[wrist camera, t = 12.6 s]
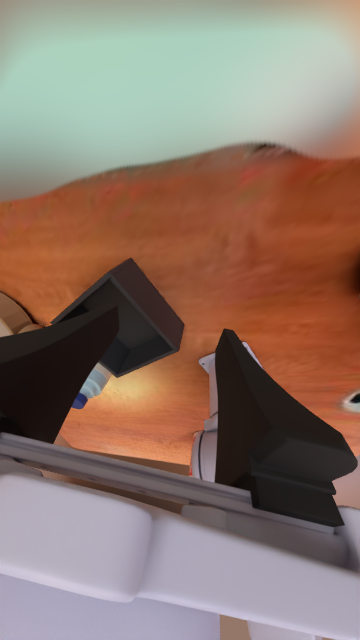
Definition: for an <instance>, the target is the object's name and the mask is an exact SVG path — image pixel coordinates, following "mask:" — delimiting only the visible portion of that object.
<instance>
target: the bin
mask: <svg viewBox="0 0 360 640" xmlns="http://www.w3.org/2000/svg"><path fill="white" fill-rule="evenodd" d="M107 304H112V305H117V306H118V313H119V332H118V334H117V335H116V337H115V339H114V341H113V342H112V344H111V345H110V347H109V348H108V349H107V351H106V352H105V354H104V355H103V356H102V358H101V359H100V360H99V362H98V363H100V364H101V365H102V366H103V367H104V368H106V369H107V370H108V371H109V372H110V373H112V374H113V375H114V376H115V377H117V378H118V377H121V376H123V375H125V374H127V373H130V372H132V371H134V370H137V369H139V368H141V367H143V366H146V365H148V364H150V363H153V362H155V361H157V360H159V359H162V358H164V357H166V356H169V355H171V354H173V353H175V352H178V351H179V348H180V343H181V339H182V334H183V329H184V323H183V322H182V321H181V320H180V318H179V317H178V316H177V315H176V313H175V312H174V311H173V310H172V308H171V307H170V306H169V305H168V303H167V302H166V301H165V300H164V298H163V297H162V296H161V295H160V293H159V292H158V291H157V290H156V288H155V287H154V286H153V285H152V283H151V282H150V281H149V280H148V278H147V277H146V276H145V275H144V273H143V272H142V271H141V270H140V268H139V267H138V266H137V265H136V263H135V262H134V261H133V260H132V258H130V259H128V260H126V261H125V262H123V263H122V264H120V265H118V266H117V267H115V268H113V269H112V270H110V271H109V272H107V273H106V274H105V275H104V276H103V277H102V278H100V279H99V280H98V281H97V282H96V283H95V284H94V285H92V286H91V287H90V288H89V289H88V290H87V291H86V292H84V293H83V294H82V295H81V296H80V297H79V298H78V299H76V300H75V301H74V302H73V303H72V304H71V305H70V306H68V307H67V308H66V309H65V310H64V311H63V312H61V313H60V314H59V315H58V316H57V317H56V318H55V319H53V320H52V321H51V322H50V323H51V324H52V325H54V324H58V323H61V322H64V321H66V320H69V319H72V318H75V317H77V316H80V315H82V314H85V313H87V312H90V311H92V310H95V309H97V308H99V307H102V306H105V305H107Z"/></svg>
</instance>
